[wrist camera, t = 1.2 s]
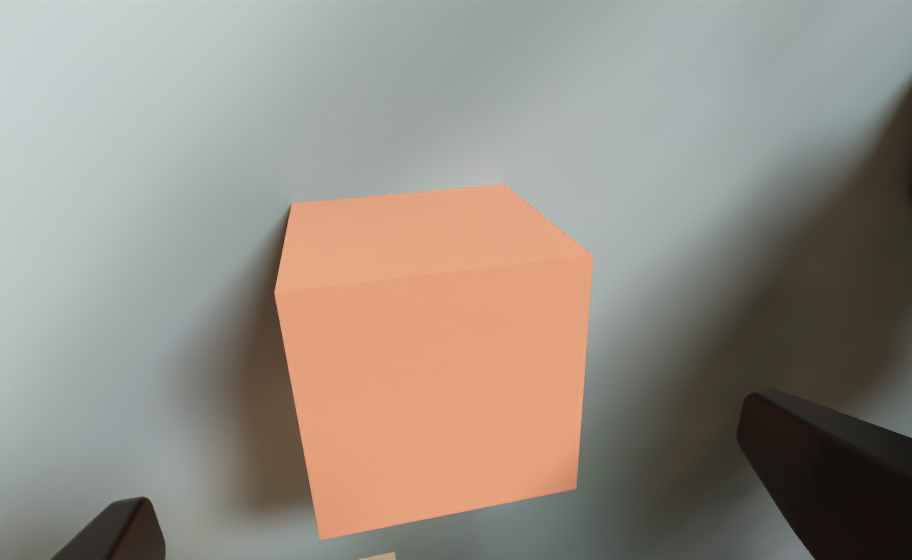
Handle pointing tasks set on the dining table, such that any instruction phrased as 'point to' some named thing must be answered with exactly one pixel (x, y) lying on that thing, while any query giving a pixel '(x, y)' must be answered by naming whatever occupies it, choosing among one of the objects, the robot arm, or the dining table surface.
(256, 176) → the dining table surface
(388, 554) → the birch base block
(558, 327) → the terracotta cube
